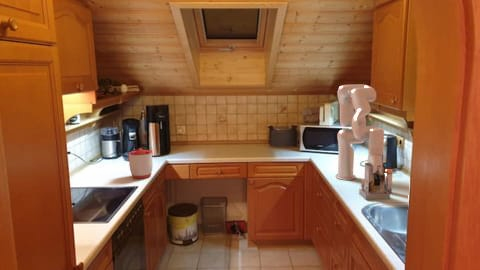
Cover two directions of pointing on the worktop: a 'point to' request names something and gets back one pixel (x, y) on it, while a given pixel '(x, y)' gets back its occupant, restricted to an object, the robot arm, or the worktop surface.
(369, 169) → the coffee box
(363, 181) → the mount block
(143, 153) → the citrus juicer
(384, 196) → the dock cradle
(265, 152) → the worktop surface
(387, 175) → the lock pin
